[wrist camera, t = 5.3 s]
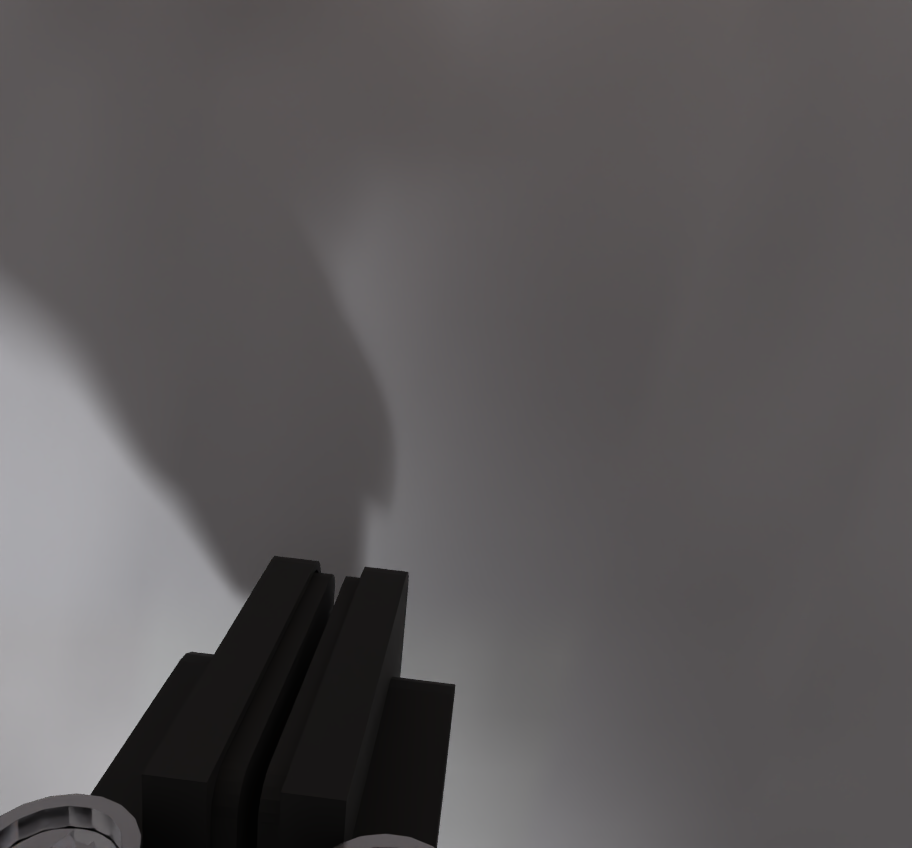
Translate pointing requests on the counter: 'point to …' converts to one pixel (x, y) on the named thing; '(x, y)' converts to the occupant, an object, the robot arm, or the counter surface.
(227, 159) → the counter surface
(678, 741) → the counter surface
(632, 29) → the counter surface
